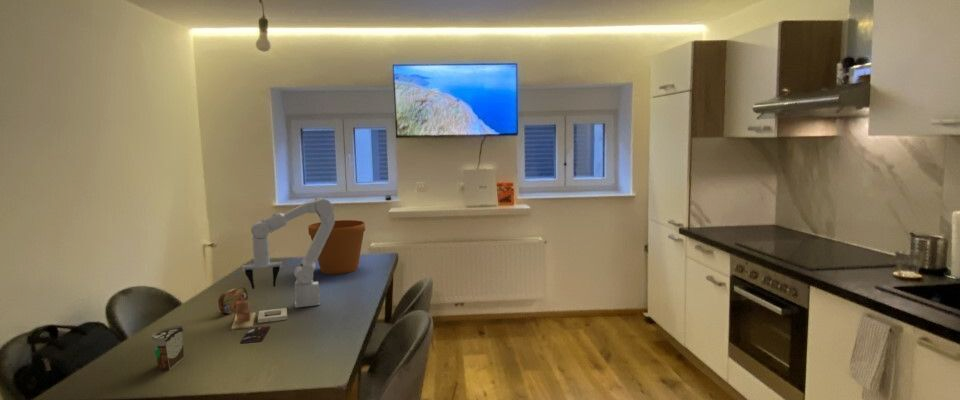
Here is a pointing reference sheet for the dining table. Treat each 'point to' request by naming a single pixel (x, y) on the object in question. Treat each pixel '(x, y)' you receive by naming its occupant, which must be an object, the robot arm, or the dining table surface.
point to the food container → (168, 346)
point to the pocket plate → (272, 312)
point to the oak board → (244, 324)
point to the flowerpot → (340, 246)
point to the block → (243, 311)
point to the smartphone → (255, 335)
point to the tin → (232, 299)
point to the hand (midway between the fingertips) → (263, 287)
